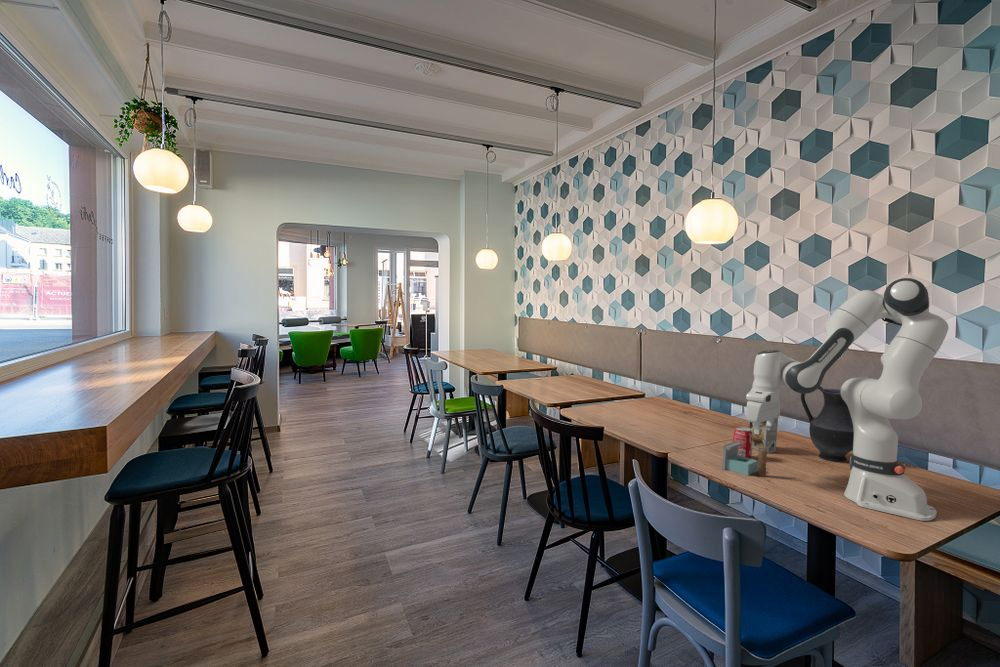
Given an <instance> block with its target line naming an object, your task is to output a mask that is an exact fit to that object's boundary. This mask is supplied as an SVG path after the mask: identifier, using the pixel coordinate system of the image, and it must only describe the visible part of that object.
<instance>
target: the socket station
mask: <svg viewBox="0 0 1000 667" xmlns="http://www.w3.org/2000/svg"><path fill="white" fill-rule="evenodd" d="M740 446H742V443H740V442H733V441H732V442H731V443H728V444H724V445H723V446H722V463H721V464H722V465H721V467H722V468H721V469H722V470H723V471H725V470H727V471H731V472H734V473H738V474H740V475H741V474H742V475H745V476H751V475H752V474H755V473H757V471H758V459H757V460H756V459H753V458H745V457H741V456H738V447H740Z"/></svg>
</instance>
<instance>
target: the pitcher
mask: <svg viewBox="0 0 1000 667" xmlns="http://www.w3.org/2000/svg"><path fill="white" fill-rule="evenodd" d="M817 390H819V391H821V393H822V395H823V401H824V402H823V406H822V408H821V410H820V412H819V413H818V414H817V416H815V417H814V416H813V415H812V412H811V411H810V409H809V407H808V404H807V402H806V399H805V397H806V394H802V393H800V401H801V404H802V407H803V409H804V411H805V413H806V416H807V418H808V421H809V438H810V440H811V442H812V444H813V445H814V446H815V448H816V449H817V450H818V451H819V453H818V457H819V459H822V460H823V461H828V462H833V463H845V462H848V459H847V457H846V456H847V455H848V454H850V453H852V452H853V440H854V429H853V423H852V419H851V415H850V411H849V408H848V406H847V404H846V403H845V401H844V400H843V399H842V397H841V389H839V388H838V389H835V388H823V386H821V385H820V386H819V388H818V389H817Z"/></svg>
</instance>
